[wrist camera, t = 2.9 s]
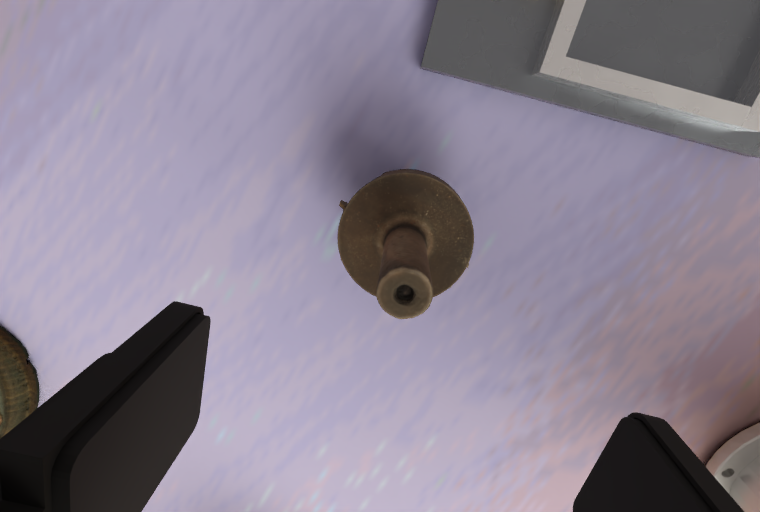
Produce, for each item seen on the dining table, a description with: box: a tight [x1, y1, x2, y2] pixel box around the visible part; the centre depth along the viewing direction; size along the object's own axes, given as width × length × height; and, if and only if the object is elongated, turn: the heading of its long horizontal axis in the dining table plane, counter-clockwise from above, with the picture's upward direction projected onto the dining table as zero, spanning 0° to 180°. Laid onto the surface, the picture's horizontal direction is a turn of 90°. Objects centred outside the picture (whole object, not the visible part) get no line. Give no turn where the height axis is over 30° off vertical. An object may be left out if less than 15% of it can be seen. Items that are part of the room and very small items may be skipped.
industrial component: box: [338, 169, 474, 319], centre depth 21 cm, size 9×7×12 cm
